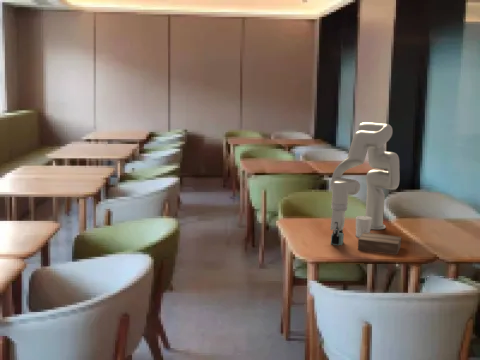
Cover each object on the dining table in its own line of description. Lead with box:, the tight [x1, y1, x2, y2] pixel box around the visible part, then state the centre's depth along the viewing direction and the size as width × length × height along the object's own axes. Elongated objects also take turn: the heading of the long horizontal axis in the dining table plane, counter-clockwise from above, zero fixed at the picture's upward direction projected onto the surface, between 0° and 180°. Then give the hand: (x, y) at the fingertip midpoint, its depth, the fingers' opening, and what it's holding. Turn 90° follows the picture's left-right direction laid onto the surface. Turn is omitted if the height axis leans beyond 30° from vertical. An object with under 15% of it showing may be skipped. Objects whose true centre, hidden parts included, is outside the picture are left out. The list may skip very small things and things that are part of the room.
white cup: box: [355, 215, 372, 239], centre depth 293 cm, size 8×8×10 cm
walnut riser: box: [357, 232, 402, 256], centre depth 274 cm, size 14×18×5 cm
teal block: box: [330, 232, 345, 246], centre depth 280 cm, size 5×5×5 cm
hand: (337, 241), depth 280 cm, fingers open, 8 cm apart
